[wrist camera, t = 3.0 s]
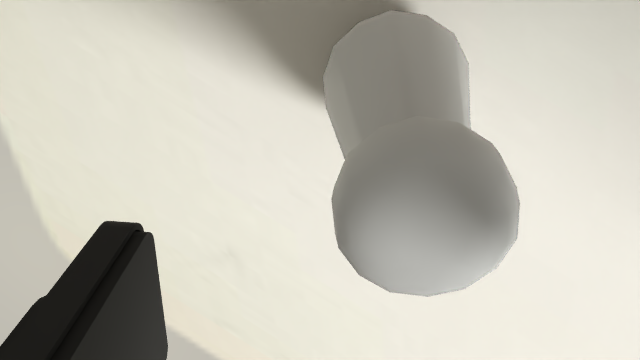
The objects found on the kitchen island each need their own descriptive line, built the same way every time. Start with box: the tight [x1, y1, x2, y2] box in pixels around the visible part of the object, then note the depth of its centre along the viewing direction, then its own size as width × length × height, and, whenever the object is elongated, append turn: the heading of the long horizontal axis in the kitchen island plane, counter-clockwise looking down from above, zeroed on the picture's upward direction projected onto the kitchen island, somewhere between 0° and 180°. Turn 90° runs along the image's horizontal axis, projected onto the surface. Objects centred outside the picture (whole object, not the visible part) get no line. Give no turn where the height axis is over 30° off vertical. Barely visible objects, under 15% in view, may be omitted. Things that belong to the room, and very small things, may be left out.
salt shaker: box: [323, 10, 520, 297], centre depth 16 cm, size 6×6×13 cm
